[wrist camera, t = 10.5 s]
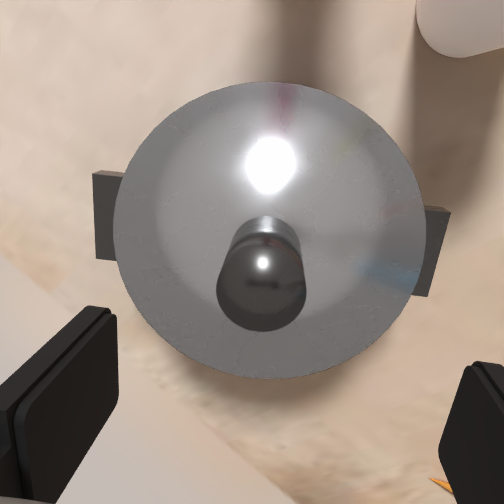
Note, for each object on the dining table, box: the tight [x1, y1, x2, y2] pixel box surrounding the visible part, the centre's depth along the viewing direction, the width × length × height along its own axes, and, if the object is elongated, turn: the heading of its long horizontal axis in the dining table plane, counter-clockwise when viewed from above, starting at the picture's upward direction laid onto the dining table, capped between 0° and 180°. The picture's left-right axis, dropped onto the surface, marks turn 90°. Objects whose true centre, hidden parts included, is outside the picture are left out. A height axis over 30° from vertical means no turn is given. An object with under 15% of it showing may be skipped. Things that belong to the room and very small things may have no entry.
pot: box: [92, 170, 451, 297], centre depth 26 cm, size 19×15×9 cm
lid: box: [113, 82, 426, 379], centre depth 19 cm, size 16×16×8 cm
